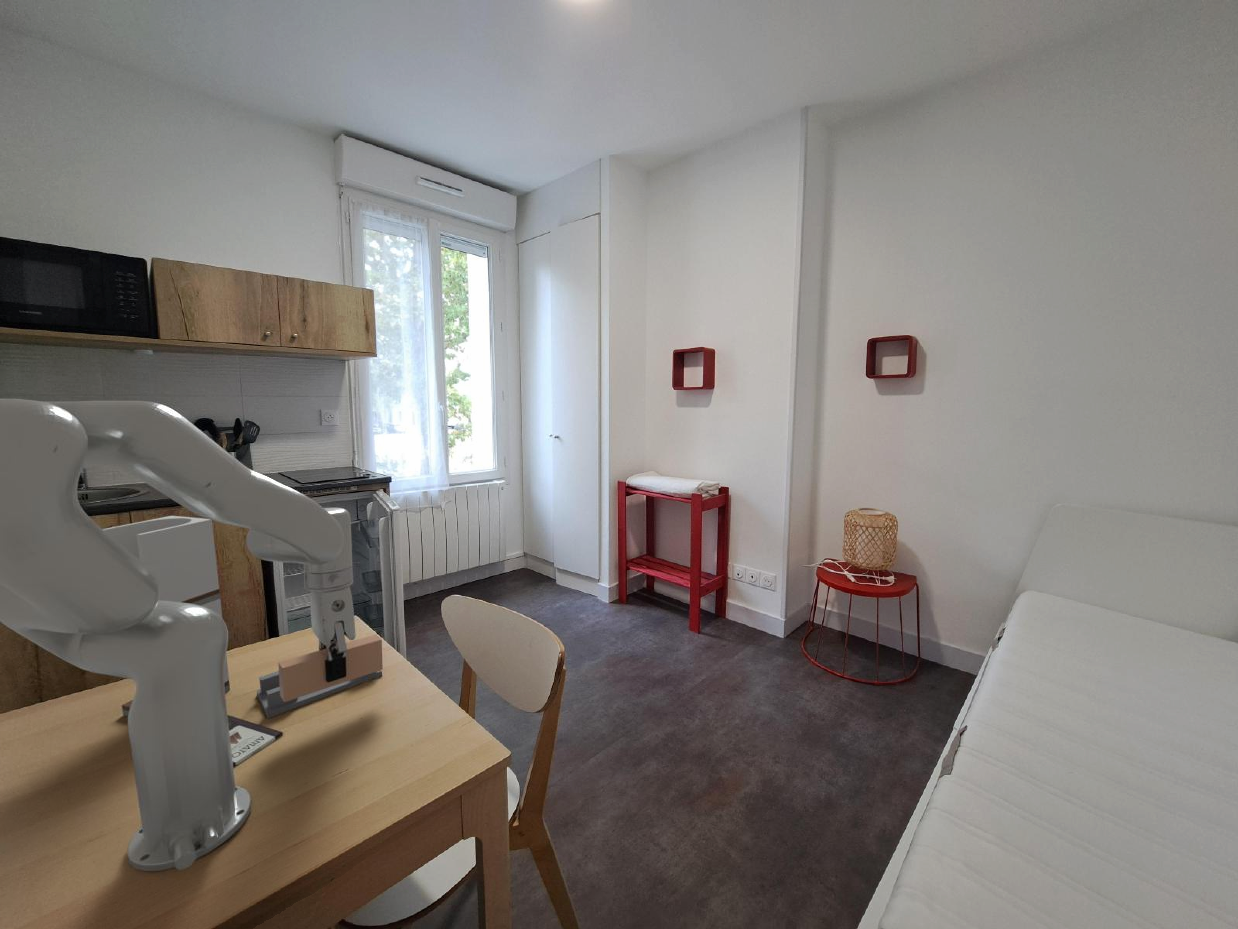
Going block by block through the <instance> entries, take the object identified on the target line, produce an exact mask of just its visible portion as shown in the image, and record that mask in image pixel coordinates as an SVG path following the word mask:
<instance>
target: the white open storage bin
mask: <svg viewBox="0 0 1238 929" xmlns="http://www.w3.org/2000/svg"><path fill="white" fill-rule="evenodd" d="M213 527H214V526H213V520H211V519H208V518H204V517H201V518H200V517H191V516H181V515H180V516H179V515H178V516H177V515H168V516H162V517H159V518H158V517H157V518H153V519H148V520H142V521H137V522H133V523H127V524H122V525H116V526H113V527H108V528H102V529H103V530H104V531H105V532H106V533H107V534H109V535H110V536H111V537H112V538H113V539H115V540H116V541H117V542H118V543H120V544H121V545H122V546H123V547H124V548H126V549H127V550H128V551H129V552H131V553H132V554H133V555H134V556H136V557H137V558H138V559H139V560H141V561H142V562H143V563H144V564H146V565H147V566H148V567H149V569H150V570H151V571H152V572H153V573H154V574H155V576H156V578H157V580H158V582H159V586H160V598H159V601H172V602H181V603H190V604H195V605H199V606H203V607H206V608H208V609H211V610H212V611H214V612H216V613H217V614H218V615H219V616H221V618H222V619H223V612H222V610H223V609H222V603H221V594H220V593H221V591H220V584H219V574H218V573H219V572H218V565H217V563H218V562H217V555H216V554H217V553H216V546H215V536H214V528H213ZM229 677H230V676H229V666H228V657H227V655H226V659H225V668H224V685H225V693H227V692H229V691H230V690H231V688H230V686H231V685H230V678H229ZM226 691H227V692H226ZM132 702H133V699H131V700H130V701H128V702H126V703H123V704H122V705H121V709H122V716H123V715H124V716H125V717H127V716H128V715H129V710H130V707H131V704H132ZM124 716H123V717H124Z"/></svg>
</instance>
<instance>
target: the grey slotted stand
mask: <svg viewBox="0 0 1238 929" xmlns="http://www.w3.org/2000/svg"><path fill="white" fill-rule="evenodd" d="M381 676H383V670H380V671H377V672H374V673H371V674H368V675H365V676H362V677H359V678H356V679H353V680H350V681H347V682H344V683H341V684H338V685H335V686H332V687H329V688H326V689H323V690H320V691H317V692H314V693H311V694H308V695H305V696H302V697H299V698H296V699H293V700H290V701H287V702H284V701H283V700H282V698H281V696H280V684H279V670H277V671H275V672H272V673H269V674H266V675H265V674H264V675H263V676H259V677H258V678H259V687H260V689H257V690H256V696H257V698H258V700H259V703H260V705H261V707H262V709H263V711H264V713H265V716H266V717H267V719H270V718H273V717H276V716H279V715H280V714H283V713H285V712H288V711H291V710H294V709H297V708H300V707H303V706H304V705H307V704H310V703H313V702H316V701H318V700H321V699H323V698H326V697H329V696H331V695H335V694H336V692H337V693H339V692H342V691H345V690H348V689H350V688H353V687H354V686H357V685H360V684H363V683H365V682H368V681H371V680H374V679H377V678H380V677H381ZM373 678H374V679H373Z"/></svg>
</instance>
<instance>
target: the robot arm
mask: <svg viewBox="0 0 1238 929" xmlns="http://www.w3.org/2000/svg"><path fill="white" fill-rule="evenodd" d="M87 469H106V470H107V469H108V470H109V469H110V470H111V469H112V470H122V471H125V472H127V473H129V474H131V475H133V477H135V478H137V479H139V480H140V481H142V482H143V483H145V484H147V485H149V486H150V487H152V488H154V489H155V490H156V491H158V492H160V493H161V494H163V495H165V496H166V497H168V498H169V499H171V500H172V501H174V502H176V503H177V504H179V505H180V506H182V507H183V508H185V509H186V510H187V511H189V512H191V513H193V514H194V515H197V516H200V517H201V518H204V519H211V520H212V521H214V522H218V523H221V524H226V525H229V526H234V527H235V526H236V527H239V528H244V529H248V532H247V535H246V539H245V543H246V544H245V545H246V547H247V549H248V551H249V553H250V554H251V555H253V556H254V557H256V558H257V559H260V560H263V561H266V562H267V561H268V562H275V563H287V564H288V563H290V564H291V563H293V564H302V565H303V580H304V581H303V582H304V590H305V591H306V592H310V593H309V594H310V595H309V596H310V619H311V621H310V622H311V623H310V625H311V630H312V633H313V634H314V635H315V637H316V638H317V639H318V651H319V650H323V649H326V651H327V660H325V671H326V681H327V682H332V681H335V680H338V679H341V678H344V677H346V651H347V647H346V643H347V642H346V637H347V638H348V640H349V641H355V639H356V637H357V634H356V623H355V611H354V602H353V595H352V591H351V590H352V589H351V587H350V586H351V585H353V584H354V572H353V570H354V569H353V551H352V550H353V545H352V544H353V543H352V521H351V519H352V518H351V514H350V512H349V511H348V510H347V509H345V508H342V507H323V506H321V505H320V504H319V503H318V502H316V501H315V500H313V499H312V498H310V497H308V496H307V495H305V494H304V493H301V492H300V491H298V490H295V489H294V488H291V487H289V486H286V485H284V484H282V483H281V482H278V481H276V480H274V479H272V478H270V477H268V476H266V475H264V474H262V473H259V472H257V471H255V470H253V469H250V468H249V467H247V466H246V465H244V464H243V463H242V462H241V461H239V460H238V459H237V458H236V457H234V456H233V455H232V454H230V453H229V452H228V451H227V450H226V449H224V448H223V447H222V446H220V445H219V444H218V443H217V442H215V441H214V440H213V439H212V438H210V437H209V436H208V435H207V434H205V433H204V432H203V431H202V429H199V428H198V427H197V426H196V425H194V424H193V423H192V422H190V420H188V419H187V418H186V417H185V416H183V415H182V414H180V413H179V412H177V411H175V410H174V409H173V408H172V407H171V408H170V407H169V406H167V405H164V404H161V403H158V402H153V401H147V400H145V401H144V400H76V401H73V400H72V401H71V400H70V401H69V400H68V401H67V400H66V401H65V400H63V401H58V400H56V401H42V400H41V401H40V400H34V399H33V400H32V399H23V398H0V622H1V623H2V624H3V625H4V626H6V627H7V628H8V629H10V630H12V631H14V632H15V633H16V634H18V635H20V636H22V637H23V638H25V639H27V640H28V641H30V642H32V643H34V644H36V645H37V646H39V647H41V648H42V649H43V650H46V651H47V652H49V653H51V654H53V655H55V656H56V657H58V658H60V659H62V660H63V661H65V662H67V663H69V664H70V665H73V666H75V667H77V668H78V669H81V670H83V671H87V672H90V673H95V674H100V675H105V676H106V675H108V676H113V677H119V678H123V679H127V680H132V681H134V683H135V687H136V689H135V694H134V697H133V699H132V700H133V702H132V704H131V707H130V710H129V715H128V717H127V727H128V728H127V730H128V737H129V738H128V739H129V742H130V743H129V745H130V749H131V757H132V762H133V763H132V766H133V770H134V771H133V772H134V779H135V785H136V793H137V801H138V808H139V816H140V822H141V826H140V827H139V829H138V830H137V831H136V832H134V835H133V836H132V838H131V839H130V841H129V842H128V843H129V844H128V847H127V858H128V863H129V864H130V866H131V867H132V868H134V869H136V870H139V871H141V872H142V871H144V872H158V871H160V872H161V871H165V870H169V869H174V868H176V869H177V870H178V871H179V870H185V869H187V868H189V867H190V866H192V865H193V863H194V862H195V861H196V860H197V859H198V858H200V857H203V856H204V855H206V854H209V853H210V852H211V851H213V850H214V849H216V848H217V847H219V846H221V845H222V844H223V843H224V842H226V841H227V840H228V839H230V838H231V837H232V836H233V835H234V834H235V833H236V832H237V831H238V830H239V829H240V828H241V827H242V826H243V824H244V823H245V822H246V820H247V819H248V818H249V816H250V812H251V811H252V796H251V793H250V792H249V791H248V790H247V789H245V788H244V787H241V786H239V785H238V786H237V785H236V781H235V770H234V767H233V761H232V752H231V742H230V733H229V724H228V715H229V714H228V707H227V699H226V692H225V685H224V668H225V659H226V656H227V651H228V645H229V644H228V643H229V631H228V627H227V624H226V622H225V621H224V619H223V617H222V618H221V616H219V615H218V614H217V613H216V612H214V611H212V610H211V609H208V608H206V607H203V606H199V605H195V604H190V603H181V602H172V601H159V598H160V586H159V582H158V580H157V578H156V576H155V574H154V573H153V572H152V571H151V570H150V569H149V567H148V566H147V565H146V564H144V563H143V562H142V561H141V560H139V559H138V558H137V557H136V556H134V555H133V554H132V553H131V552H129V551H128V550H127V549H126V548H124V547H123V546H122V545H121V544H120V543H118V542H117V541H116V540H115V539H113V538H112V537H111V536H110V535H109V534H107V533H106V532H105V531H104V530H103V529H104V528H101V527H100V526H99V525H98V524H97V523H96V522H95V521H94V520H93V518H91V517H90V516H89V515H88V514H87V513H86V512H85V511H84V509H83V508H82V506H81V504H80V500H79V498H78V485H79V479H80V476H81V473H82V471H83V470H87ZM334 646H336V648H334V649H333V650H331V647H334Z"/></svg>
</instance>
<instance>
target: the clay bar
mask: <svg viewBox="0 0 1238 929" xmlns="http://www.w3.org/2000/svg"><path fill="white" fill-rule="evenodd" d="M346 647H347V651H346V677H344V678H341V679H338V680H335V681H332V682H327V681H326V671H325V660H327V651H326V649H323V650H319V649H318V650H316V651H313V652H310V653H306V654H303V655H302V654H301V655H298V656H296V657H292V658H288V659H284V660H281V661H278V663H277V664H278V671H279V684H280V696H281V698H282V700H283V701H284V702H287V701H290V700H293V699H296V698H299V697H302V696H305V695H308V694H311V693H314V692H317V691H320V690H323V689H326V688H329V687H332V686H335V685H338V684H341V683H344V682H347V681H350V680H353V679H356V678H359V677H362V676H365V675H368V674H371V673H374V672H377V671H380V670H381V671H383V670H384V669H383V639H382V638H381V637H380V636H379V635H377V634H373V635H370V636H366V637H362V638H359V639H356V640H355V639H354V640H350V641H349V642H346ZM334 648H336V646H334V647H331V650H333V649H334Z"/></svg>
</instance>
